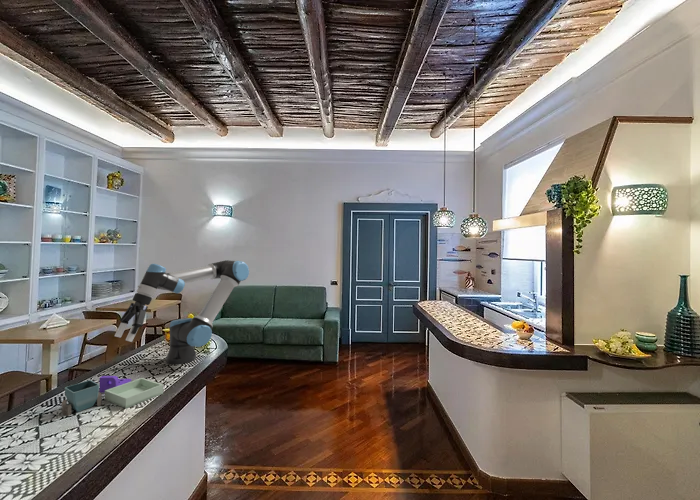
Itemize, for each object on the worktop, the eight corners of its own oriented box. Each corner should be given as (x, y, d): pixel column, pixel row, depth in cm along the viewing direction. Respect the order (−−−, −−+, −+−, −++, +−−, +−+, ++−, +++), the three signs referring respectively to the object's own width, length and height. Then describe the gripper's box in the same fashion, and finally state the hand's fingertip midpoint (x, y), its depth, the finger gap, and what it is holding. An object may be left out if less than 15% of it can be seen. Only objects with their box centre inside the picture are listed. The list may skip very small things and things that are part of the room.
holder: (98, 399, 143) (97, 390, 143) (103, 404, 139) (103, 395, 139) (59, 411, 133) (59, 401, 133) (64, 417, 129) (64, 406, 129)
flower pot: (73, 415, 130) (73, 392, 130) (64, 409, 134) (64, 387, 134) (100, 406, 137) (99, 384, 137) (90, 401, 142) (90, 379, 142)
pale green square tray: (142, 386, 157) (142, 377, 157) (163, 393, 149) (163, 384, 149) (104, 399, 143) (104, 390, 143) (126, 408, 136) (126, 398, 136)
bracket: (115, 392, 151) (115, 377, 150) (99, 393, 150) (99, 377, 150) (131, 381, 163) (131, 367, 162) (116, 382, 162) (116, 367, 162)
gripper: (126, 290, 168) (104, 333, 161) (147, 293, 153) (124, 340, 145) (141, 295, 174) (121, 337, 166) (163, 299, 158) (142, 345, 151)
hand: (122, 339), depth 156 cm, fingers open, 13 cm apart
